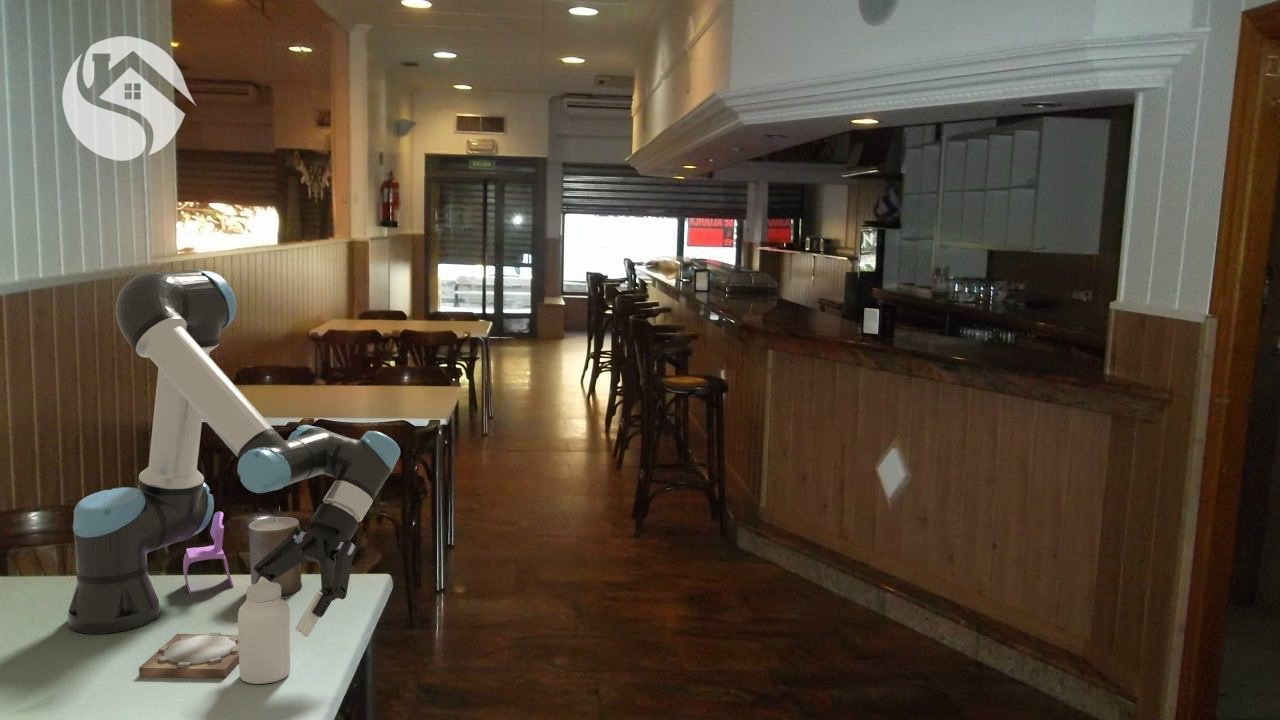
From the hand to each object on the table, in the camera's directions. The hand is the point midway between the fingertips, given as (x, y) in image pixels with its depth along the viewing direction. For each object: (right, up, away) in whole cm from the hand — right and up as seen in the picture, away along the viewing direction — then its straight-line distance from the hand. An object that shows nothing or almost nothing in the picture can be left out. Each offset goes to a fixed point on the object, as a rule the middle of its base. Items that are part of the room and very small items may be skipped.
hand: (272, 624), depth 170 cm
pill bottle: (-1, -9, +1) cm, 9 cm away
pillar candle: (-13, -3, +40) cm, 42 cm away
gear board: (-14, -8, +6) cm, 18 cm away
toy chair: (-27, -3, +41) cm, 49 cm away
